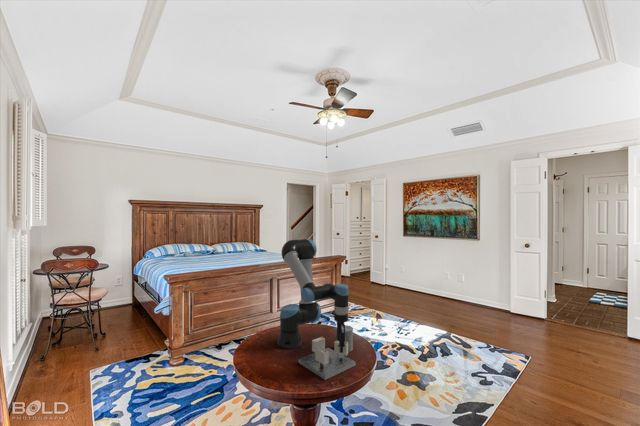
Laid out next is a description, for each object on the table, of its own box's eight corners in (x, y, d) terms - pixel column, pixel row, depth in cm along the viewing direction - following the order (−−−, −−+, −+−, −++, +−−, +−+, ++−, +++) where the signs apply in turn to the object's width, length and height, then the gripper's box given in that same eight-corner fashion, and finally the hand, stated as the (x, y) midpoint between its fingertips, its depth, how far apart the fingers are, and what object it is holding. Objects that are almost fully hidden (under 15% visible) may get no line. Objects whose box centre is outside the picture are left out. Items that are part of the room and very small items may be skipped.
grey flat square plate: (298, 362, 167) (298, 357, 167) (328, 350, 181) (328, 345, 181) (325, 379, 150) (325, 373, 150) (355, 365, 164) (355, 359, 164)
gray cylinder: (352, 352, 179) (352, 332, 179) (335, 351, 181) (336, 330, 181) (353, 345, 188) (353, 325, 188) (338, 344, 190) (338, 324, 190)
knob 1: (315, 365, 160) (315, 346, 160) (319, 363, 162) (319, 345, 162) (324, 370, 154) (324, 351, 154) (328, 368, 156) (328, 349, 156)
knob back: (315, 358, 168) (315, 340, 168) (312, 356, 170) (312, 338, 170) (324, 354, 172) (325, 337, 172) (321, 352, 174) (321, 335, 174)
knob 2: (334, 358, 167) (334, 341, 167) (336, 356, 170) (336, 338, 170) (346, 361, 164) (346, 343, 164) (348, 358, 167) (348, 341, 167)
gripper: (351, 319, 158) (350, 363, 159) (345, 307, 176) (344, 347, 177) (336, 319, 158) (335, 363, 158) (332, 307, 175) (331, 347, 176)
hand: (340, 355), depth 167 cm, fingers closed on knob 2, 5 cm apart
